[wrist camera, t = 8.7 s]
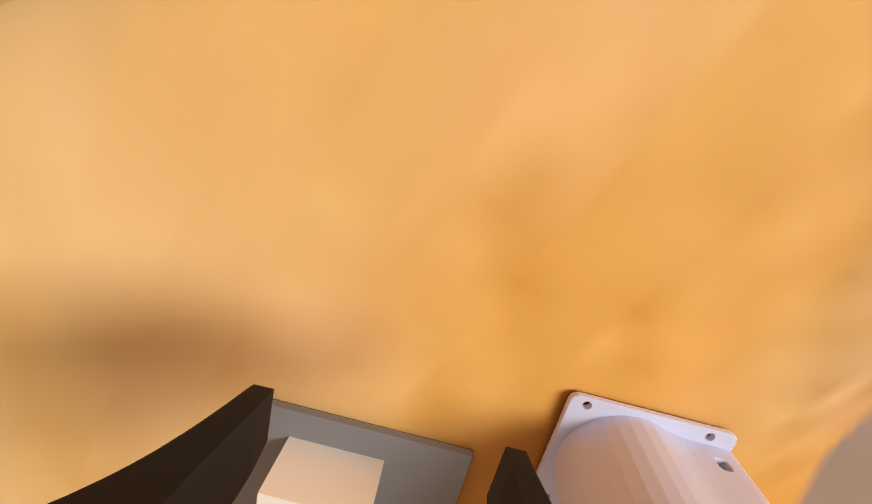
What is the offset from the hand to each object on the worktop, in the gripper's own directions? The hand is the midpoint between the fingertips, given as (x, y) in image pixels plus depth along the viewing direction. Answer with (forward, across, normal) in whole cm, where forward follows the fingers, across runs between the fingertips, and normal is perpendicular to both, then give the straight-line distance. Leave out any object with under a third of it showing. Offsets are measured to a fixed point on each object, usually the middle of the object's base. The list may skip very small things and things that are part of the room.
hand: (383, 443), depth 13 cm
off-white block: (+10, +3, +14) cm, 18 cm away
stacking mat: (+10, +2, +14) cm, 18 cm away
